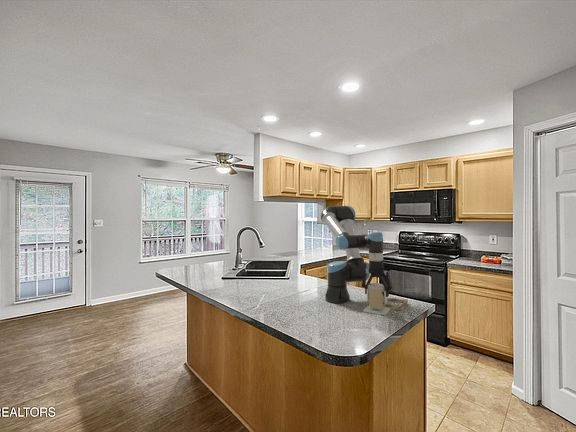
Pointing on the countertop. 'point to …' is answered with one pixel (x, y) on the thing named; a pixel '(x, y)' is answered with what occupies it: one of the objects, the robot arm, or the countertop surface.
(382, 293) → the coffee cup
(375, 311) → the sage tile
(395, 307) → the oak frame
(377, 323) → the countertop surface
